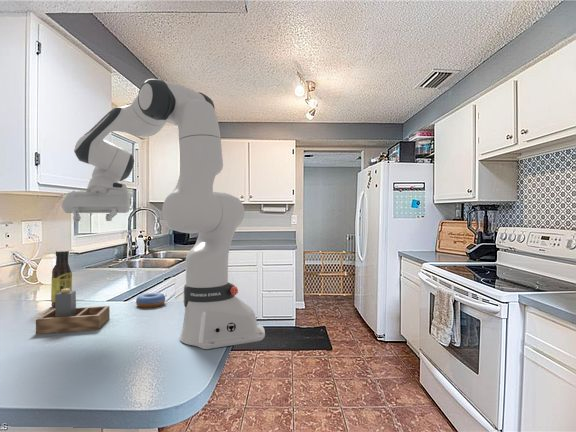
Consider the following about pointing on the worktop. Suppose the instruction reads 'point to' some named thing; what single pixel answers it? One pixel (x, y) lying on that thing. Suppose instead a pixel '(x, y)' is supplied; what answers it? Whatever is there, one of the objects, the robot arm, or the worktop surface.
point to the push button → (65, 303)
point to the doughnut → (150, 300)
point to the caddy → (74, 320)
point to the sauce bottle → (61, 275)
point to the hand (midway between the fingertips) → (92, 219)
